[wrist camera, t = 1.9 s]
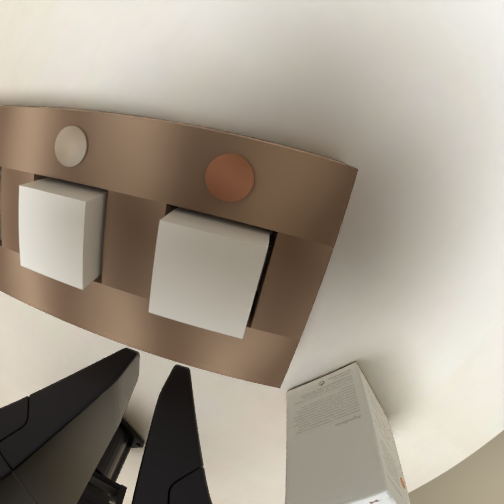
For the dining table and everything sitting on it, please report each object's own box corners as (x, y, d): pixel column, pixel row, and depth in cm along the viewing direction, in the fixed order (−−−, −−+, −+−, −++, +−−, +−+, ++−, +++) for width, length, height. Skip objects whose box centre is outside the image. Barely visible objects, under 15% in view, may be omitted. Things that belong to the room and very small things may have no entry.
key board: (341, 161, 16) (359, 169, 12) (281, 346, 21) (279, 390, 17) (-13, 105, 16) (-52, 108, 13) (-17, 246, 21) (-50, 264, 17)
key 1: (271, 226, 15) (267, 248, 13) (249, 306, 17) (242, 338, 14) (181, 204, 15) (159, 220, 13) (168, 284, 17) (148, 312, 14)
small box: (285, 388, 22) (280, 518, 12) (357, 358, 20) (388, 490, 11) (328, 442, 24) (335, 548, 14) (389, 418, 22) (415, 525, 13)
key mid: (117, 189, 15) (85, 201, 13) (110, 266, 17) (82, 289, 14) (53, 175, 15) (19, 185, 13) (51, 247, 17) (20, 265, 14)
